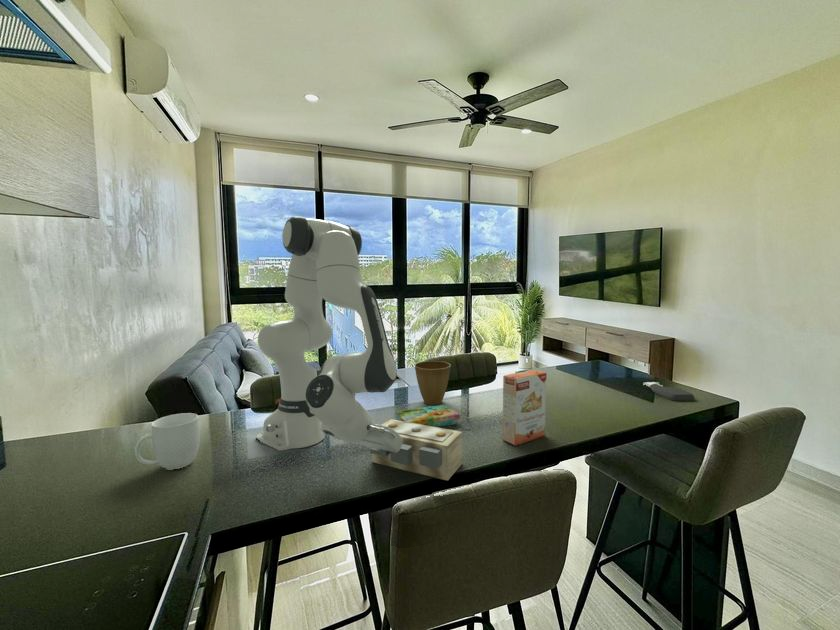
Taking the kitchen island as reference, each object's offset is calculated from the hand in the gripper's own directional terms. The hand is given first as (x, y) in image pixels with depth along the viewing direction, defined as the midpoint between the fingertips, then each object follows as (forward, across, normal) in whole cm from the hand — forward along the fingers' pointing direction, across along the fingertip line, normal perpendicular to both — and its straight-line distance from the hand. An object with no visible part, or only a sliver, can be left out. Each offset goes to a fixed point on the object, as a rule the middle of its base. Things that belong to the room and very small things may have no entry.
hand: (376, 447), depth 100 cm
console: (+10, -8, -2) cm, 13 cm away
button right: (+3, -15, 0) cm, 15 cm away
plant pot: (+45, +12, -37) cm, 60 cm away
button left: (+3, 0, 0) cm, 3 cm away
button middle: (+2, -8, +1) cm, 8 cm away
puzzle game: (+30, +3, -21) cm, 37 cm away
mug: (-11, +52, +21) cm, 58 cm away
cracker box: (+31, -30, -22) cm, 49 cm away
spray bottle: (+85, -75, -76) cm, 136 cm away
